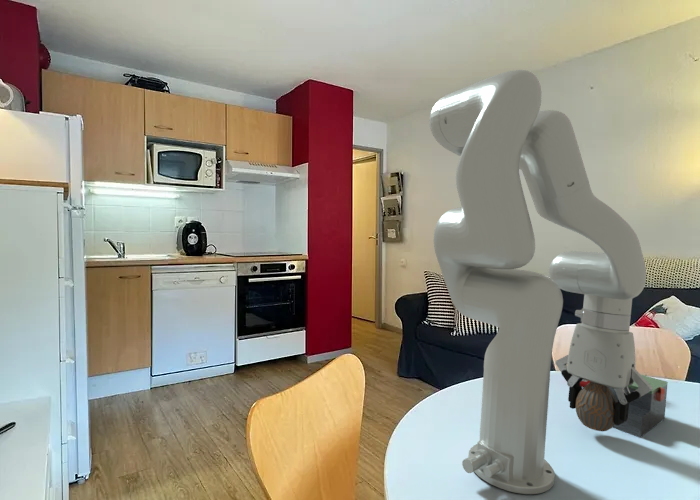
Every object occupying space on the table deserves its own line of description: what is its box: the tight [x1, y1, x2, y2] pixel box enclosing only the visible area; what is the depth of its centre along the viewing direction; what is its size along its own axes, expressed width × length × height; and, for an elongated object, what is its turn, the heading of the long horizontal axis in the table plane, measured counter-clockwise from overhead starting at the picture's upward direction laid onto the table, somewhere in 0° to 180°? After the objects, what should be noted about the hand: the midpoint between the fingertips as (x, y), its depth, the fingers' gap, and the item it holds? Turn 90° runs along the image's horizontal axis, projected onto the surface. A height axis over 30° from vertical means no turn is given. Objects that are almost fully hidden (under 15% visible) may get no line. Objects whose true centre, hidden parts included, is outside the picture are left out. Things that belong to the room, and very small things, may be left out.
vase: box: [574, 381, 617, 432], centre depth 74 cm, size 7×7×9 cm
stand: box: [609, 374, 669, 438], centre depth 82 cm, size 14×11×8 cm
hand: (596, 414), depth 74 cm, fingers closed on vase, 6 cm apart
